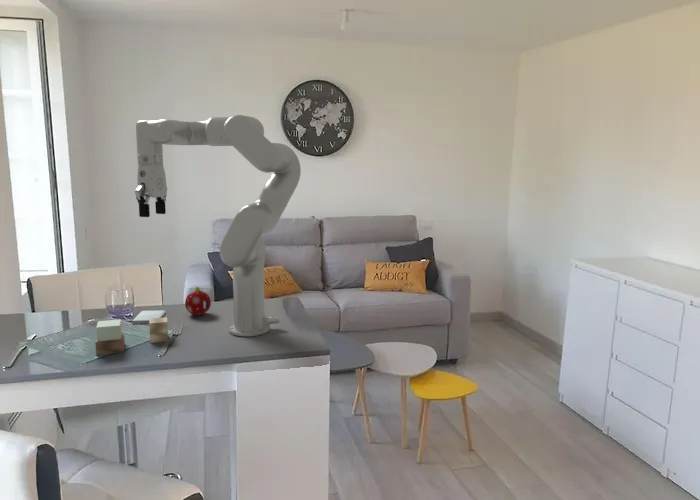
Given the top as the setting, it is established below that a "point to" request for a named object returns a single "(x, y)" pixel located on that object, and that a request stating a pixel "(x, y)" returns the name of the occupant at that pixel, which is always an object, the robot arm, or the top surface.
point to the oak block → (158, 330)
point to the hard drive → (148, 316)
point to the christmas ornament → (197, 302)
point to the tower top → (109, 330)
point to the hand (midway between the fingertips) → (152, 215)
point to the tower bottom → (110, 346)
